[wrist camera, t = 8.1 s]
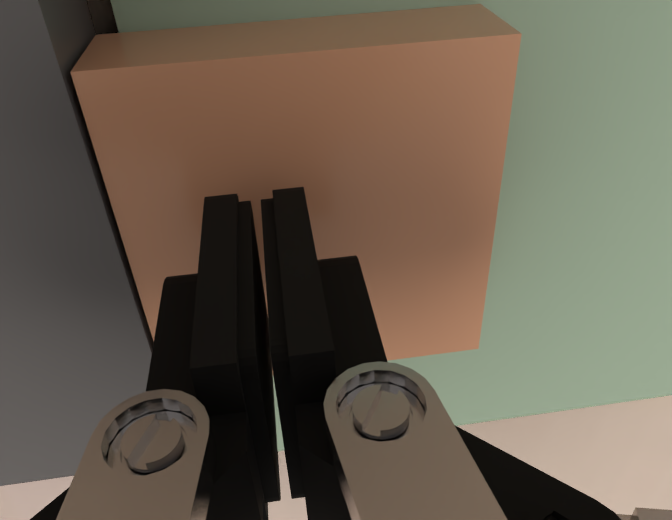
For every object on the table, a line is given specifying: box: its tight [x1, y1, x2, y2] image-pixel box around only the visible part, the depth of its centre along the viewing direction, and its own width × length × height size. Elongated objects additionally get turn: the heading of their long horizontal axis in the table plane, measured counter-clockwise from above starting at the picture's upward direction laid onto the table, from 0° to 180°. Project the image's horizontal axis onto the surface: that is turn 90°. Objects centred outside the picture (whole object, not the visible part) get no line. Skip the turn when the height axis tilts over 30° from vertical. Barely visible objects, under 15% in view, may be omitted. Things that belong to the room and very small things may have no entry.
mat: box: [111, 0, 672, 451], centre depth 13 cm, size 18×15×1 cm
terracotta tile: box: [70, 4, 522, 373], centre depth 12 cm, size 7×7×2 cm
